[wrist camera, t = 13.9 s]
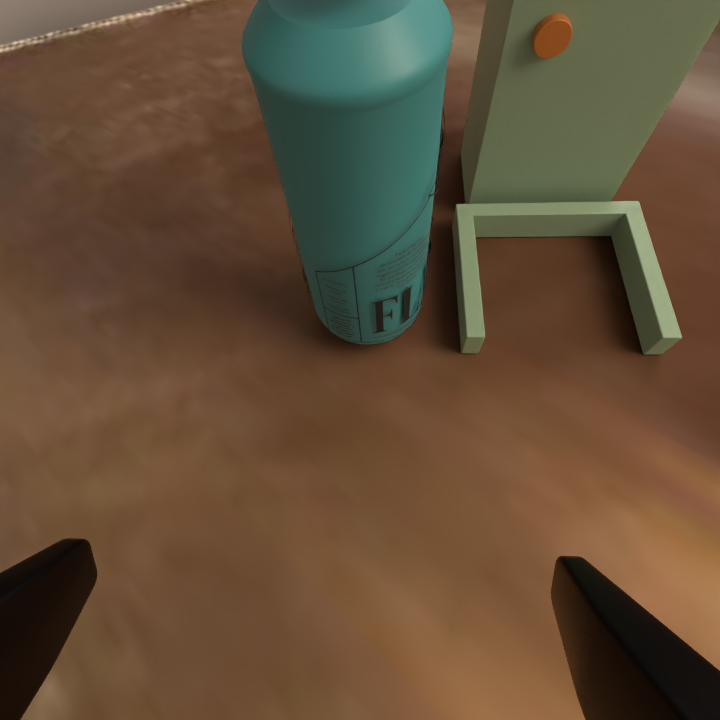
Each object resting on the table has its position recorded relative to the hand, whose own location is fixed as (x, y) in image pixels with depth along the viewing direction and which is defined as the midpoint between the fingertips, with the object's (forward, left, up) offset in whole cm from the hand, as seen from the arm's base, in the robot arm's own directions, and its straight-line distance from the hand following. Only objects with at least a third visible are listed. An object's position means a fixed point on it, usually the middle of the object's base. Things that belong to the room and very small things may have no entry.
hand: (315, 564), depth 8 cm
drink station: (+15, -17, -14) cm, 26 cm away
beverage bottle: (+13, -5, -14) cm, 20 cm away
